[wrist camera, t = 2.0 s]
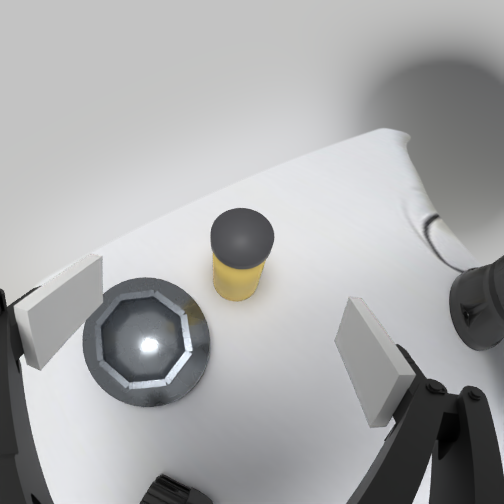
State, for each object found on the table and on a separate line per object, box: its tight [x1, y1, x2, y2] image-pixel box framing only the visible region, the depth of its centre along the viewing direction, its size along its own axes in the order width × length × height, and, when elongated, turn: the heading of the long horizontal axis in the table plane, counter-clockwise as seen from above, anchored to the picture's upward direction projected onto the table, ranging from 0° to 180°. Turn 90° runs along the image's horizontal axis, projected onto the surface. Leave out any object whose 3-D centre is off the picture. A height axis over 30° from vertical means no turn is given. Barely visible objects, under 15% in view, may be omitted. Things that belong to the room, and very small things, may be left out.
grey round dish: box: [83, 278, 210, 407], centre depth 34 cm, size 16×16×4 cm
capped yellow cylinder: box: [211, 208, 274, 301], centre depth 36 cm, size 6×6×12 cm
